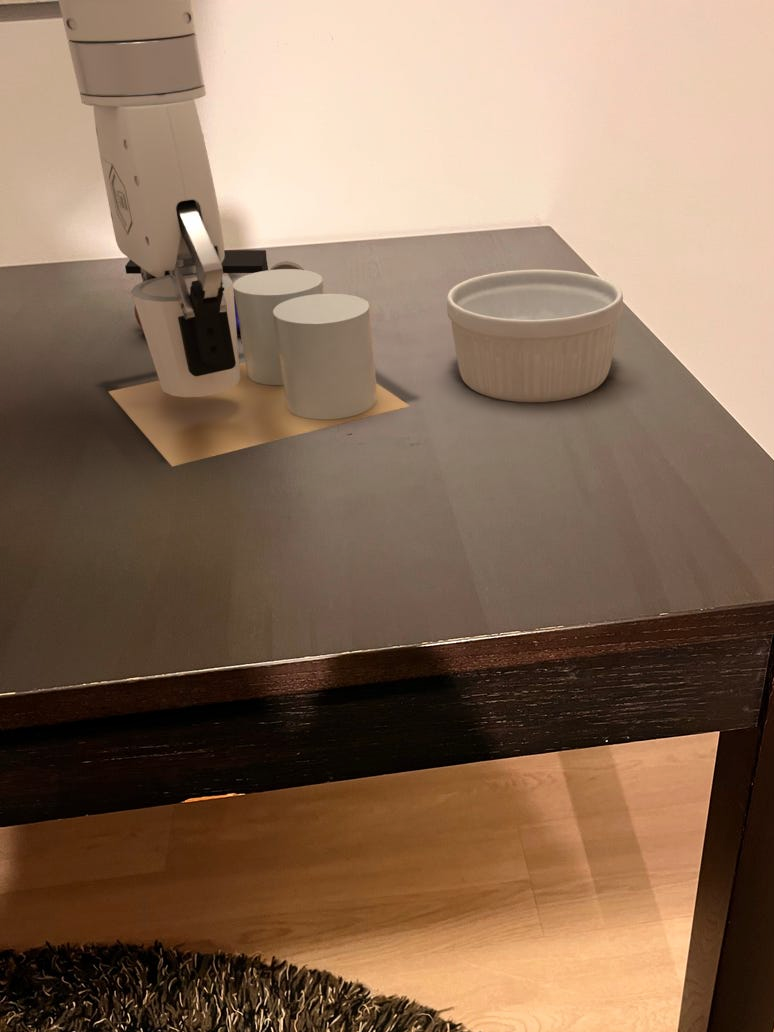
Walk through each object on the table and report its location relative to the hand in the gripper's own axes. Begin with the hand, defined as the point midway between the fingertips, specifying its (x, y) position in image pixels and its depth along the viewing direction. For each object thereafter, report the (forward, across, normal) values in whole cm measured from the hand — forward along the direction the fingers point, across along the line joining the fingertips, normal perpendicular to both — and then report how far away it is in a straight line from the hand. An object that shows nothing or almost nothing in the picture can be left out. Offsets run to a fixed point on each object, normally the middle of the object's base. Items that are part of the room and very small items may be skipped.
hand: (194, 353), depth 72 cm
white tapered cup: (+2, 0, 0) cm, 2 cm away
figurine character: (+5, -17, +8) cm, 19 cm away
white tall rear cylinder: (+4, -4, +8) cm, 10 cm away
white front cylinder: (+4, +4, +8) cm, 10 cm away
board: (+5, 0, +4) cm, 6 cm away
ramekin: (+5, +8, +24) cm, 26 cm away
